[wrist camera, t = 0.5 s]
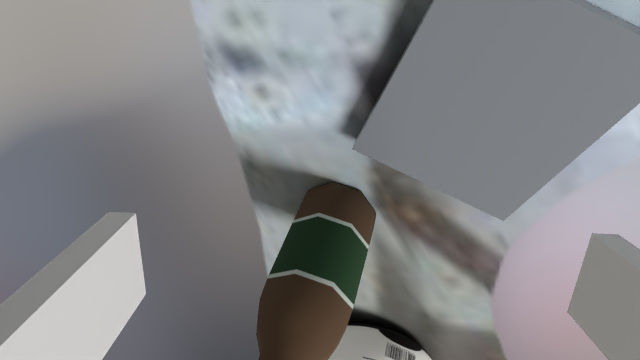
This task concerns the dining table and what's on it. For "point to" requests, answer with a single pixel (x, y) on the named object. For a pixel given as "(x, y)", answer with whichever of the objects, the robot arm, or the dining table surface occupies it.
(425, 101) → the slate board
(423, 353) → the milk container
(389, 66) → the dining table surface
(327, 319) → the beer bottle
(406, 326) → the dining table surface
